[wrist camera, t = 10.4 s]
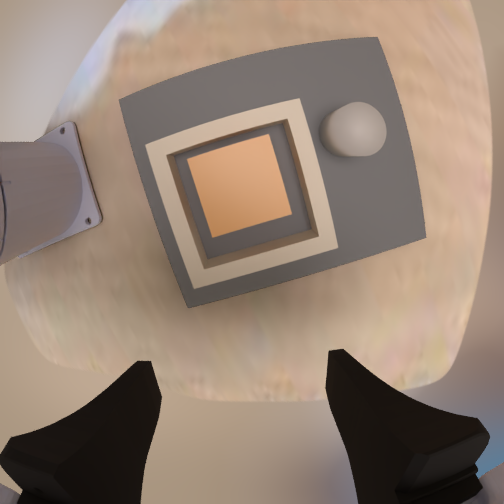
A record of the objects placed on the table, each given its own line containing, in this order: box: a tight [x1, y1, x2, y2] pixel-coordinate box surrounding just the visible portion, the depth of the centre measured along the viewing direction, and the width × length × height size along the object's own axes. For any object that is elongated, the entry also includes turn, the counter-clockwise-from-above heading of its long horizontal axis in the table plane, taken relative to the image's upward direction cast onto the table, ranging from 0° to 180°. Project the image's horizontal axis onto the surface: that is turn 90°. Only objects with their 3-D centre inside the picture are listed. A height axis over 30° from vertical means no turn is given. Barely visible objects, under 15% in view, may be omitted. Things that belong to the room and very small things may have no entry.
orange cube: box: [187, 134, 292, 238], centre depth 16 cm, size 4×4×4 cm
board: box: [119, 37, 426, 308], centre depth 17 cm, size 18×15×4 cm
